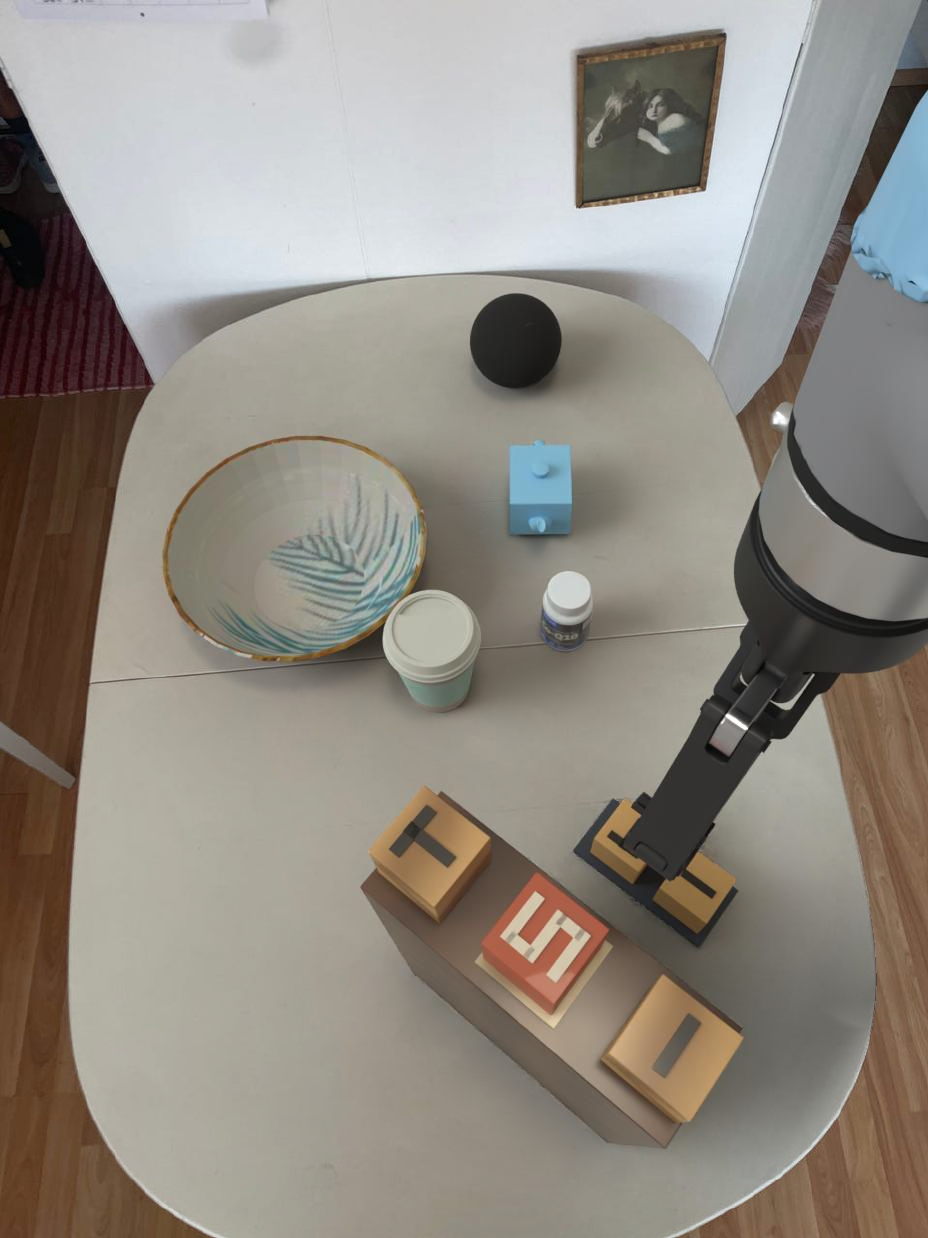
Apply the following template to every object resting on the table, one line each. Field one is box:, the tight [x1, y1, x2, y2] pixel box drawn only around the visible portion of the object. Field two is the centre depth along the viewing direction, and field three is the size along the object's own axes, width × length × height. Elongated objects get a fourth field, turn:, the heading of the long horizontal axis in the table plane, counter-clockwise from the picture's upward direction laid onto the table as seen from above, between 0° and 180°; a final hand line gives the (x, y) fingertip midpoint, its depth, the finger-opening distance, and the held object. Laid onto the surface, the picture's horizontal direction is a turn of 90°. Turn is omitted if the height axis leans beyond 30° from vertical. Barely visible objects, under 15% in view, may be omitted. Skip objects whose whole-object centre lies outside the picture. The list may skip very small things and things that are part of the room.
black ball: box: [469, 292, 563, 389], centre depth 107 cm, size 10×10×10 cm
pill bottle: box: [540, 570, 594, 652], centre depth 93 cm, size 5×5×8 cm
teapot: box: [509, 439, 573, 535], centre depth 99 cm, size 12×6×8 cm, turn 179°
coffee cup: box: [382, 589, 482, 713], centre depth 89 cm, size 8×9×12 cm
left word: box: [572, 797, 739, 949], centre depth 83 cm, size 13×6×5 cm, turn 51°
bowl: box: [162, 435, 428, 663], centre depth 97 cm, size 25×25×8 cm
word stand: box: [359, 785, 745, 1150], centre depth 64 cm, size 20×7×37 cm, turn 51°
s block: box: [481, 872, 610, 1015], centre depth 50 cm, size 4×4×5 cm
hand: (737, 749), depth 52 cm, fingers open, 13 cm apart
